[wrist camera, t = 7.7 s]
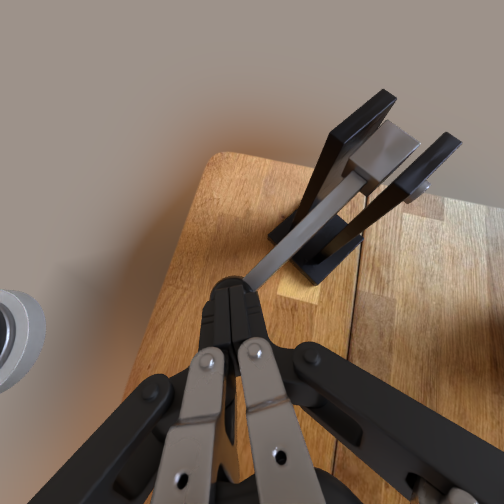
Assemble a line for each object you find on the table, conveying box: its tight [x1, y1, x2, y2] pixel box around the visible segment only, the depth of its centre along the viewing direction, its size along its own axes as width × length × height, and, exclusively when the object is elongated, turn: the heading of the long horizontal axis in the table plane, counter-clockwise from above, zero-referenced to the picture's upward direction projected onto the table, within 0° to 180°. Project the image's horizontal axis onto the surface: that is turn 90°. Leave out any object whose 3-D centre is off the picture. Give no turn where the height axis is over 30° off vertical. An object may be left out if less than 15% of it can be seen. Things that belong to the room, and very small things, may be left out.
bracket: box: [267, 89, 462, 286], centre depth 18 cm, size 8×8×16 cm
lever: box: [209, 120, 420, 301], centre depth 13 cm, size 15×3×3 cm, turn 132°
